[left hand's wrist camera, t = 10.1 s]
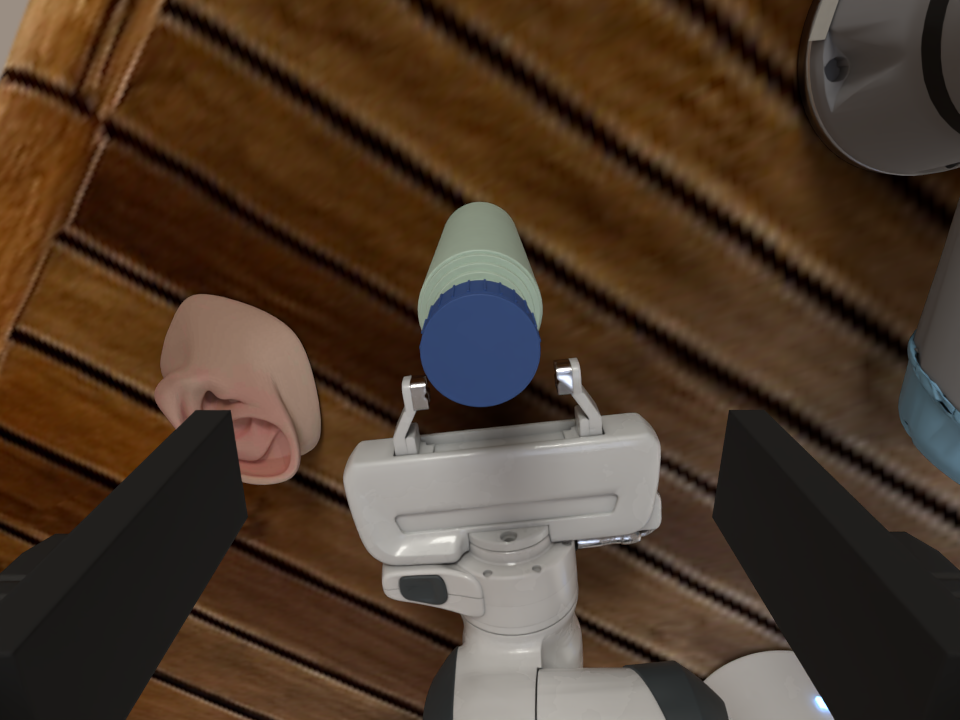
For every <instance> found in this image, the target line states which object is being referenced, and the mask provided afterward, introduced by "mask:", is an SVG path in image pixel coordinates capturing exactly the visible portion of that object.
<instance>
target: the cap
mask: <svg viewBox="0 0 960 720" xmlns="http://www.w3.org/2000/svg"><path fill="white" fill-rule="evenodd" d="M421 334H423V335H422V339H421V343H420V356H421V362H422V366H423V369H424V371H425V373H426V375H427V377H428V379H429V380H430V382H431V383H432V385H433V386H434V387H435V388H436V389H437V390H438V391H439V392H440V393H441V394H443V395H444V396H446V397H447V398H449V399H451V400H453V401H455V402H457V403H460V404H463V405H467V406H473V407H488V406H494V405H498V404H501V403H504V402H506V401H508V400H510V399H512V398H514V397H515V396H516V395H518V394H519V393H520V392H521V391H523V390H524V389H525V388H526V386H527V385H528V384H529V383H530V381H531V380H532V378H533V377H534V375H535V373H536V370H537V368H538V364H539V360H540V342H541V339H540V336H539V332H538V329H537V324H536V320H535V317H534V314H533V313H531V311H530V309H529V307H528V305H527V302H526V300H523V299H522V298H521V297H520V296H519V295H518V294H517V293H516V291H515V290H514V289H513V290H512V289H510V288H508V287H507V286H505V285H502V283H501V282H499V283H497V282H493V281H487V280H486V279H484V280H473V281H470V280H468V281H467V282H464V283H461V284H458V285H456V286H455V285H453V287H452V288H450V289H449V290H447V291H446V292H445V293H443V294H442V293H441V294H440V297H439V298H438V299H437V301H436V302H435V303H434V305H431V307H430V310H429V314H428V317H427V319H425V321H424V325H423V328H422V332H421Z"/></svg>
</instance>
